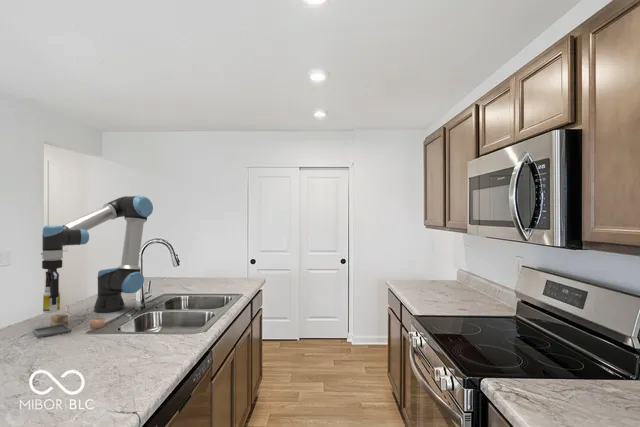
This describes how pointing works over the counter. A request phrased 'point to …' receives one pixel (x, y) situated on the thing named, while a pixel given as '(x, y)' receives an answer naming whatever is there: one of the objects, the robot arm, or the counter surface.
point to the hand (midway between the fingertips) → (51, 310)
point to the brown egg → (97, 323)
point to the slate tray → (51, 330)
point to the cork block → (59, 319)
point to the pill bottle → (47, 301)
